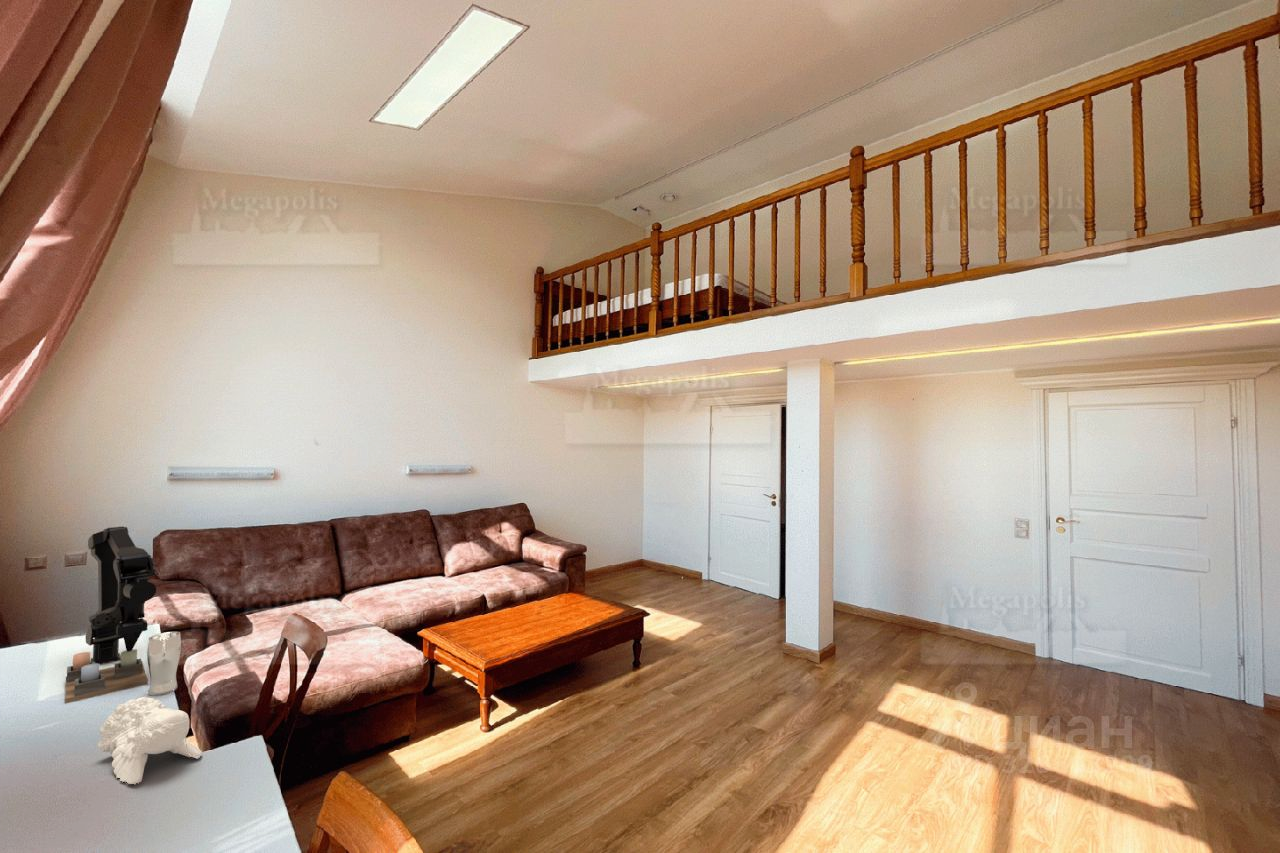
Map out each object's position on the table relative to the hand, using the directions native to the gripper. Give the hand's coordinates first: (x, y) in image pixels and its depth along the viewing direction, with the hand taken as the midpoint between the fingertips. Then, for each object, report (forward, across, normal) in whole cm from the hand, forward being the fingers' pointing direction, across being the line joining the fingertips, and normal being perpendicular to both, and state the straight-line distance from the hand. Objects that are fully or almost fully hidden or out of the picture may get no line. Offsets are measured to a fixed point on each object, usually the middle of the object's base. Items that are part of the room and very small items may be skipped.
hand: (129, 650), depth 157 cm
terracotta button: (+5, -6, -9) cm, 12 cm away
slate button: (+5, +7, -8) cm, 11 cm away
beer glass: (+8, +18, +6) cm, 21 cm away
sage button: (+5, 0, 0) cm, 5 cm away
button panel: (+8, 0, -4) cm, 9 cm away
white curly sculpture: (+8, +59, +1) cm, 60 cm away
